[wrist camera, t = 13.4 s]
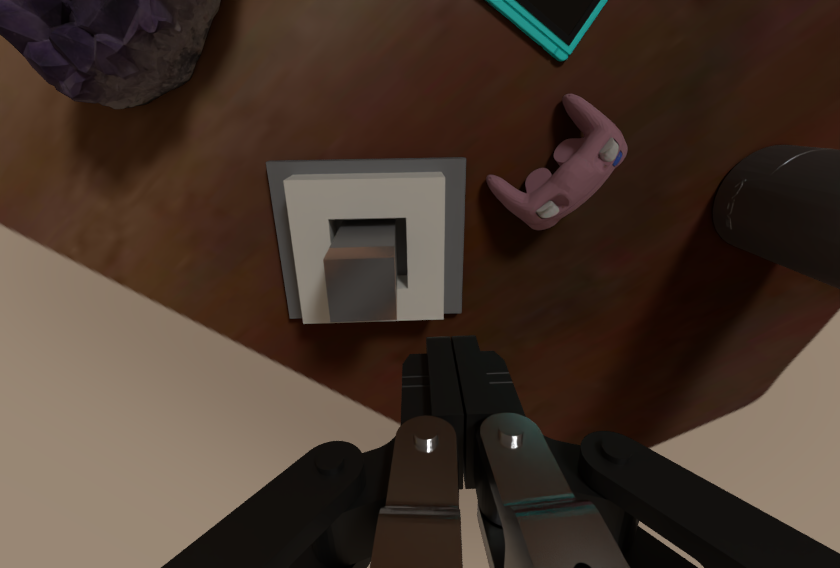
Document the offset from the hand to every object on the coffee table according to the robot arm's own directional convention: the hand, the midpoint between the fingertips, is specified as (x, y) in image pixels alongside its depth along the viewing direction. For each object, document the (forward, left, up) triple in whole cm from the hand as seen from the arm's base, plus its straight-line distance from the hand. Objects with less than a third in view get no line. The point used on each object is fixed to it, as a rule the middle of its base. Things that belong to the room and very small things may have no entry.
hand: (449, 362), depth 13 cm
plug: (+4, +3, -24) cm, 24 cm away
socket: (+4, +3, -25) cm, 25 cm away
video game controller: (-11, -3, -25) cm, 27 cm away
